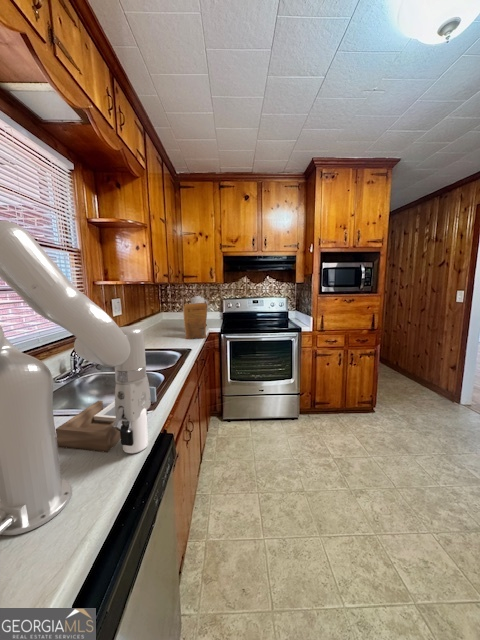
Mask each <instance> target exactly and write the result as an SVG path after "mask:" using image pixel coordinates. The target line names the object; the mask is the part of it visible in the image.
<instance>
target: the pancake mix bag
mask: <svg viewBox="0 0 480 640" xmlns="http://www.w3.org/2000/svg"><path fill="white" fill-rule="evenodd" d="M182 311H183V312H182V313H183V322H184V324H183V325H184V331H185V340H201V339H206V338H207V333H206V332H207V326H206V324H207V318H208V317H207V316H208V310H207V303H206V302H204V303H195V304H191V303H185V304H184V305H183V306H182Z"/></svg>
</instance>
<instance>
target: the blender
mask: <svg viewBox="0 0 480 640" xmlns="http://www.w3.org/2000/svg"><path fill="white" fill-rule="evenodd" d="M195 303H207V311H209V301H208V299H206V298H205V297H201V295H195V296H194V297H191V298H190V304H195ZM206 327H207V323H206Z"/></svg>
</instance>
